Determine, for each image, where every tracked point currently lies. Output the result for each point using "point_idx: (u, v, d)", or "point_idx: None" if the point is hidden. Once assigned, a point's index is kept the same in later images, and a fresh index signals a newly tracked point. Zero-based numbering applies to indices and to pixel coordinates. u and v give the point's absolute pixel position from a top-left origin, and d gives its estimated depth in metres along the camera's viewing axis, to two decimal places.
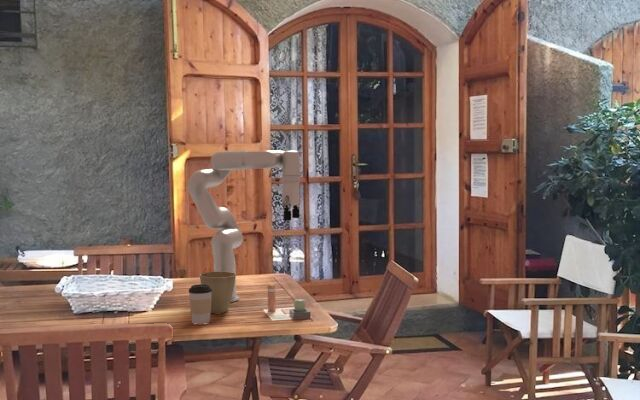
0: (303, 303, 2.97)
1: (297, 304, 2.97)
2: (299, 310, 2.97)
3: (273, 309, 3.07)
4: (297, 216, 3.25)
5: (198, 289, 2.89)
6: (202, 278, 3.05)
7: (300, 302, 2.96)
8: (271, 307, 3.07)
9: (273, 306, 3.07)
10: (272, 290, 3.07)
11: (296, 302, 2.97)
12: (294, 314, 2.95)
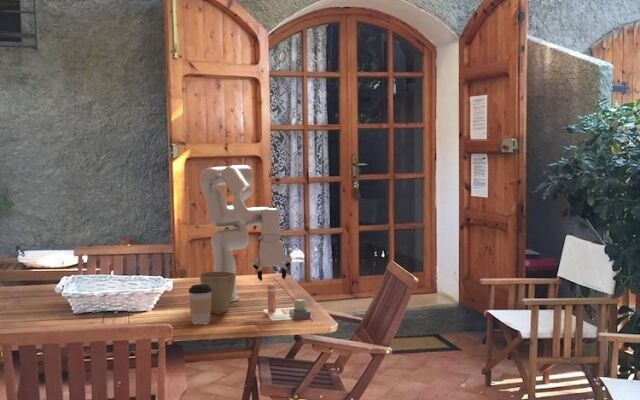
0: (303, 303, 2.97)
1: (297, 304, 2.97)
2: (299, 310, 2.97)
3: (273, 309, 3.07)
4: None
5: (198, 289, 2.89)
6: (202, 278, 3.05)
7: (300, 302, 2.96)
8: (271, 307, 3.07)
9: (273, 306, 3.07)
10: (272, 290, 3.07)
11: (296, 302, 2.97)
12: (294, 314, 2.95)
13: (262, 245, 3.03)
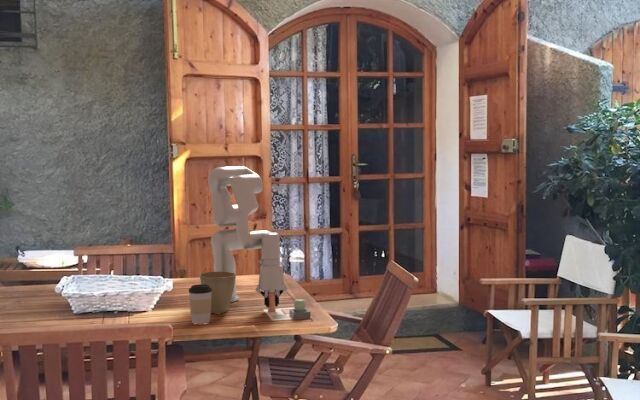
0: (303, 303, 2.97)
1: (297, 304, 2.97)
2: (299, 310, 2.97)
3: (273, 309, 3.07)
4: None
5: (198, 289, 2.89)
6: (202, 278, 3.05)
7: (300, 302, 2.96)
8: (271, 307, 3.07)
9: (273, 306, 3.07)
10: (272, 290, 3.07)
11: (296, 302, 2.97)
12: (294, 314, 2.95)
13: (262, 269, 3.04)
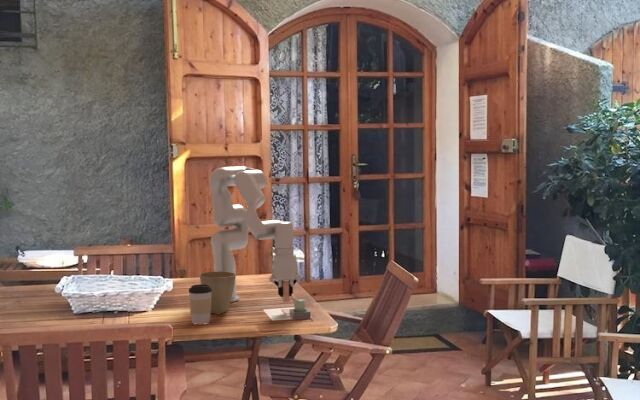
0: (303, 303, 2.97)
1: (297, 304, 2.97)
2: (299, 310, 2.97)
3: (287, 299, 3.05)
4: None
5: (198, 289, 2.89)
6: (202, 278, 3.05)
7: (300, 302, 2.96)
8: (285, 297, 3.05)
9: (287, 296, 3.05)
10: (286, 280, 3.04)
11: (296, 302, 2.97)
12: (294, 314, 2.95)
13: (276, 259, 3.02)
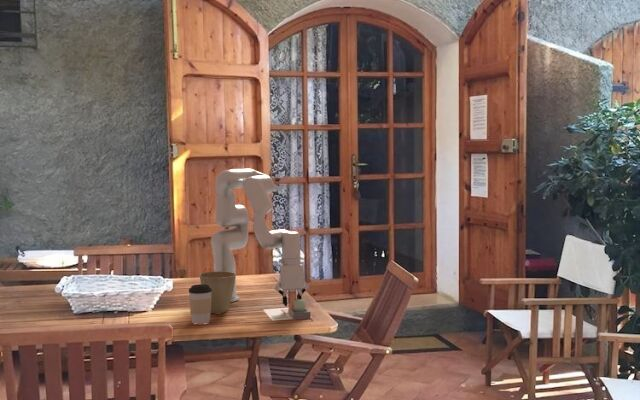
0: (303, 303, 2.97)
1: (297, 304, 2.97)
2: (299, 310, 2.97)
3: None
4: None
5: (198, 289, 2.89)
6: (202, 278, 3.05)
7: (300, 302, 2.96)
8: (292, 307, 3.06)
9: None
10: (293, 290, 3.06)
11: (296, 302, 2.97)
12: (294, 314, 2.95)
13: (283, 269, 3.03)
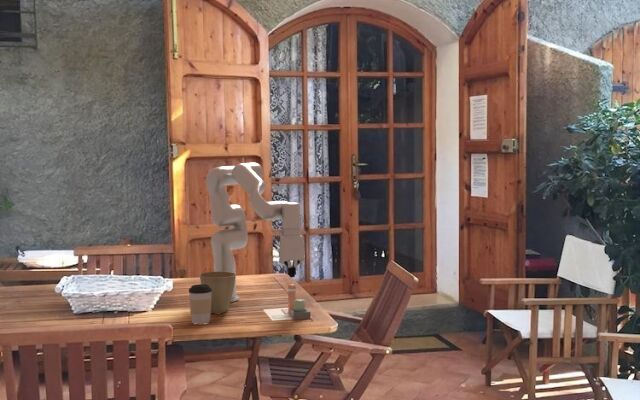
0: (303, 303, 2.97)
1: (297, 304, 2.97)
2: (299, 310, 2.97)
3: None
4: None
5: (198, 289, 2.89)
6: (202, 278, 3.05)
7: (300, 302, 2.96)
8: (292, 307, 3.06)
9: None
10: (293, 290, 3.06)
11: (296, 302, 2.97)
12: (294, 314, 2.95)
13: (283, 239, 3.02)
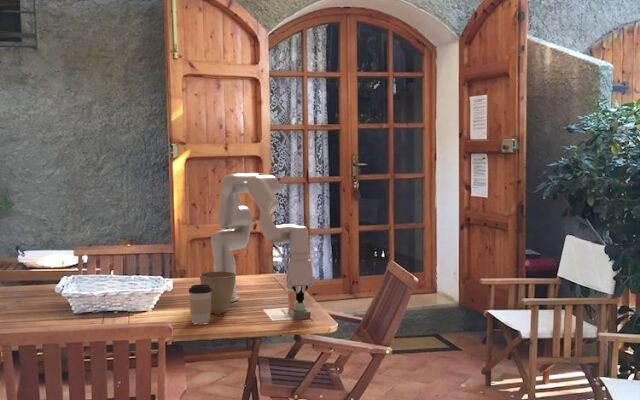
0: (303, 305, 2.97)
1: (297, 306, 2.97)
2: None
3: None
4: None
5: (198, 289, 2.89)
6: (202, 278, 3.05)
7: (300, 304, 2.96)
8: (292, 307, 3.06)
9: None
10: (293, 290, 3.06)
11: (296, 304, 2.97)
12: (294, 314, 2.95)
13: (290, 264, 2.94)
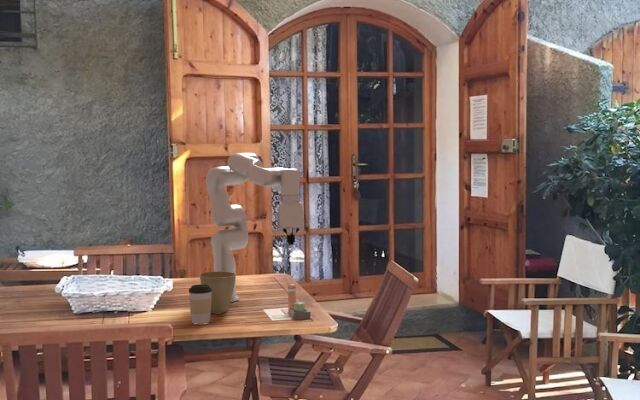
0: (303, 306, 2.97)
1: (297, 307, 2.97)
2: None
3: None
4: None
5: (198, 289, 2.89)
6: (202, 278, 3.05)
7: (300, 305, 2.97)
8: (292, 307, 3.06)
9: None
10: (293, 290, 3.06)
11: (296, 305, 2.97)
12: (294, 314, 2.95)
13: (281, 206, 2.97)
